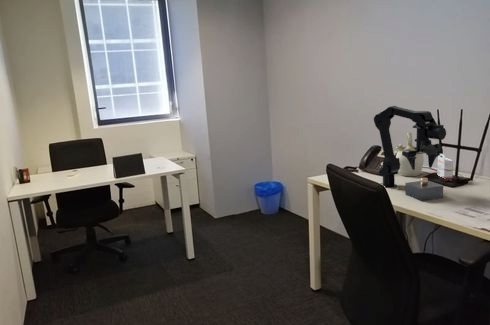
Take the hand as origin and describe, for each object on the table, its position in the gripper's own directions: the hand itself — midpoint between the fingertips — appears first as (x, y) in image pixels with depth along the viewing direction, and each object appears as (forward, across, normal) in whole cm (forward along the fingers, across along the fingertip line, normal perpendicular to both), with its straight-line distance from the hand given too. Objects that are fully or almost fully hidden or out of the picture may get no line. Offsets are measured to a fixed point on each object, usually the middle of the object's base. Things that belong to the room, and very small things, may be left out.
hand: (421, 168), depth 193 cm
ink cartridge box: (+13, +26, +16) cm, 33 cm away
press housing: (+13, -2, -5) cm, 14 cm away
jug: (+13, +17, +36) cm, 42 cm away
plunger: (+11, -2, -5) cm, 12 cm away
